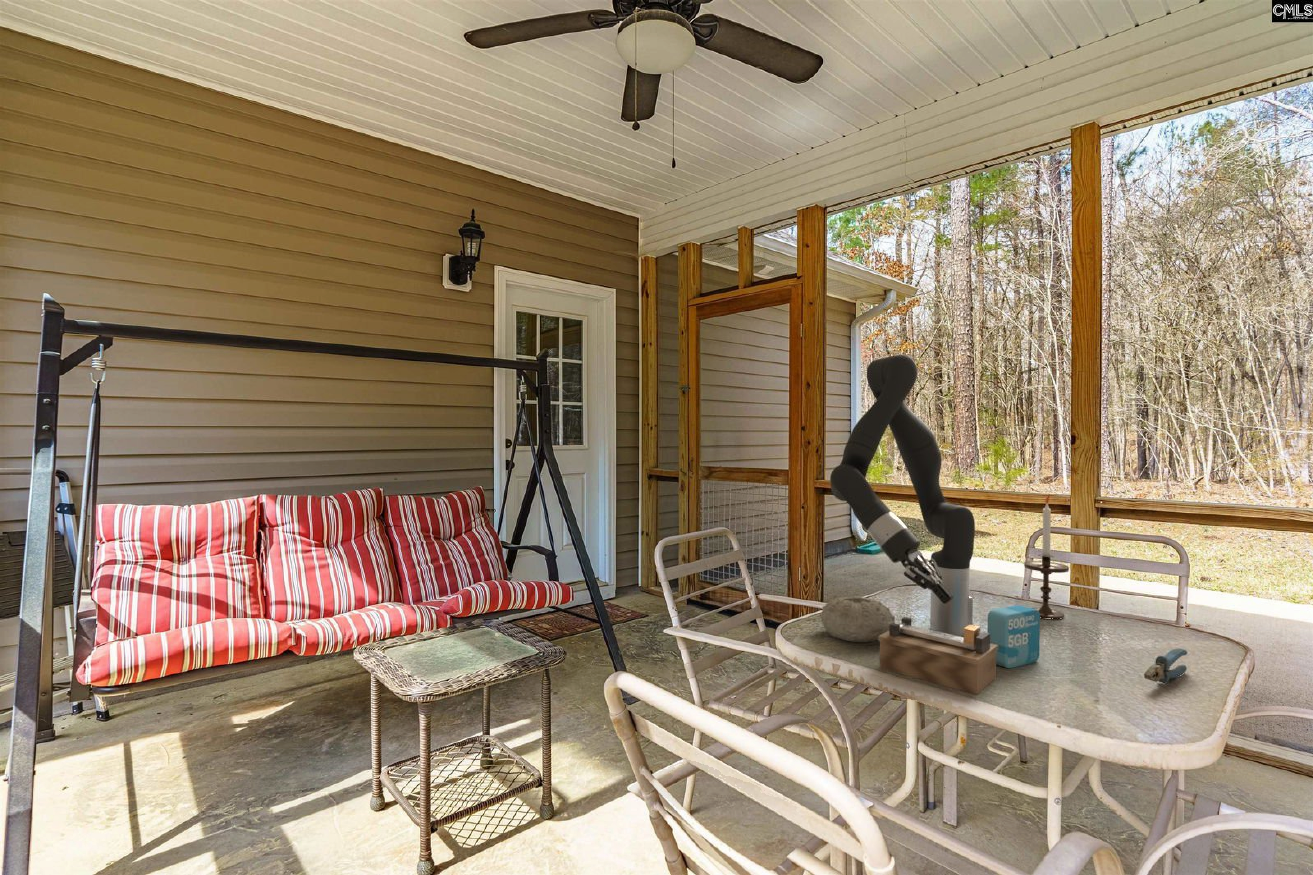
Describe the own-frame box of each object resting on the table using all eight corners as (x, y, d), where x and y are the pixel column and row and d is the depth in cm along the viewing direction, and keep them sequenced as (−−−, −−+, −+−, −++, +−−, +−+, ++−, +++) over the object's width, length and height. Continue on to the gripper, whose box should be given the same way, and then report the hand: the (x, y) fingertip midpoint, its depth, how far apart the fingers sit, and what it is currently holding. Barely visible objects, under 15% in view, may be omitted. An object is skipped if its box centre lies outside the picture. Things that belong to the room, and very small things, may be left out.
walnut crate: (877, 667, 139) (878, 621, 139) (901, 653, 148) (902, 610, 148) (978, 695, 125) (978, 643, 125) (997, 677, 134) (998, 629, 134)
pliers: (1152, 695, 126) (1153, 665, 126) (1140, 691, 127) (1140, 662, 127) (1189, 674, 137) (1190, 647, 137) (1177, 671, 139) (1178, 644, 138)
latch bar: (893, 632, 141) (894, 613, 141) (901, 628, 144) (901, 609, 144) (973, 651, 129) (973, 630, 129) (979, 646, 132) (980, 626, 132)
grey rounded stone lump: (821, 624, 171) (822, 587, 170) (891, 630, 166) (892, 592, 166) (819, 645, 153) (820, 604, 153) (897, 653, 148) (898, 610, 148)
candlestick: (1077, 619, 176) (1079, 494, 176) (1044, 621, 174) (1046, 495, 174) (1046, 609, 187) (1047, 491, 187) (1014, 610, 185) (1016, 491, 184)
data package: (1005, 669, 138) (1005, 615, 138) (986, 663, 143) (987, 610, 142) (1039, 661, 144) (1040, 608, 144) (1020, 655, 148) (1021, 604, 148)
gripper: (892, 529, 136) (951, 596, 128) (916, 523, 146) (972, 585, 137) (868, 551, 140) (924, 617, 132) (893, 543, 150) (947, 604, 141)
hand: (949, 601), depth 135 cm, fingers closed
